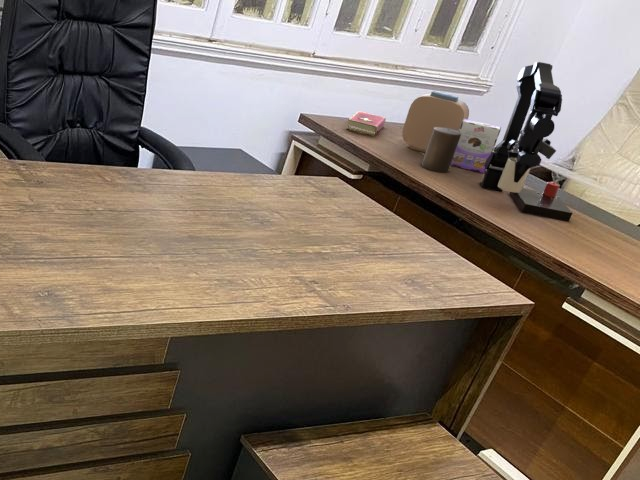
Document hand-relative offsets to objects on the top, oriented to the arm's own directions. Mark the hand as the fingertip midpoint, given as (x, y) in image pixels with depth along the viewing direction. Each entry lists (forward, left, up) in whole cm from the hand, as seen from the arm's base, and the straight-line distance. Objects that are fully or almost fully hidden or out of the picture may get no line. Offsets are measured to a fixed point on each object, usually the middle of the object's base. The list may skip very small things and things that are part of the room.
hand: (513, 178), depth 253 cm
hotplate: (+14, +9, -10) cm, 19 cm away
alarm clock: (-17, +60, -10) cm, 63 cm away
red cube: (+18, +16, -7) cm, 25 cm away
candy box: (-4, +45, -10) cm, 46 cm away
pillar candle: (-17, +35, -10) cm, 40 cm away
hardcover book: (-40, +79, -10) cm, 89 cm away
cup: (0, 0, -3) cm, 3 cm away
